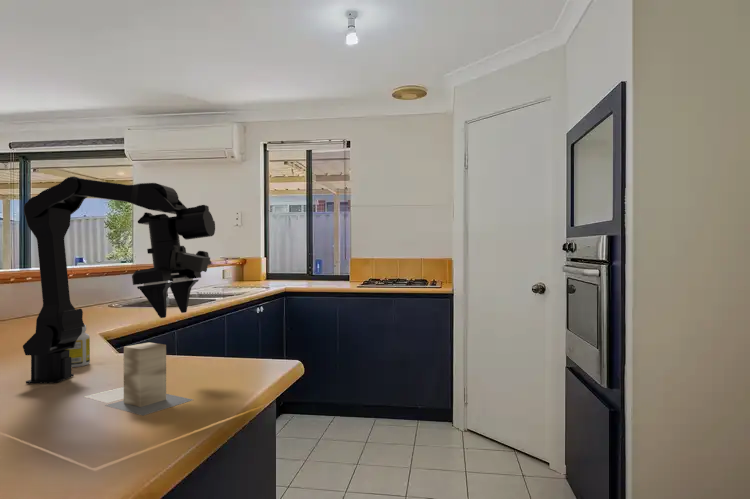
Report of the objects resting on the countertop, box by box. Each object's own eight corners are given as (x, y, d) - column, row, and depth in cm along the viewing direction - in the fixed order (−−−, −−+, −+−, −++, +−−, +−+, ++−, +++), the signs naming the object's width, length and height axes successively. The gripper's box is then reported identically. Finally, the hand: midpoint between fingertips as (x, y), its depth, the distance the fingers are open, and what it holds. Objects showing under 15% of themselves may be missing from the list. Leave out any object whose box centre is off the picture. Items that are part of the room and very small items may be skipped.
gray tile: (104, 407, 84) (104, 405, 84) (156, 393, 93) (156, 391, 93) (142, 417, 78) (142, 415, 78) (194, 401, 87) (194, 399, 87)
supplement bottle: (80, 362, 122) (81, 323, 122) (94, 364, 119) (94, 324, 120) (59, 366, 117) (59, 326, 117) (72, 368, 114) (72, 327, 115)
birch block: (123, 402, 85) (123, 346, 86) (149, 395, 90) (149, 342, 90) (140, 407, 83) (140, 349, 83) (166, 399, 87) (166, 344, 87)
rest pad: (83, 398, 89) (83, 396, 90) (124, 388, 96) (124, 386, 96) (107, 404, 85) (107, 403, 85) (148, 393, 92) (148, 392, 92)
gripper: (181, 235, 92) (191, 315, 92) (218, 239, 111) (226, 306, 111) (126, 243, 93) (135, 322, 93) (172, 245, 112) (180, 312, 111)
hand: (174, 315), depth 102 cm, fingers open, 9 cm apart
